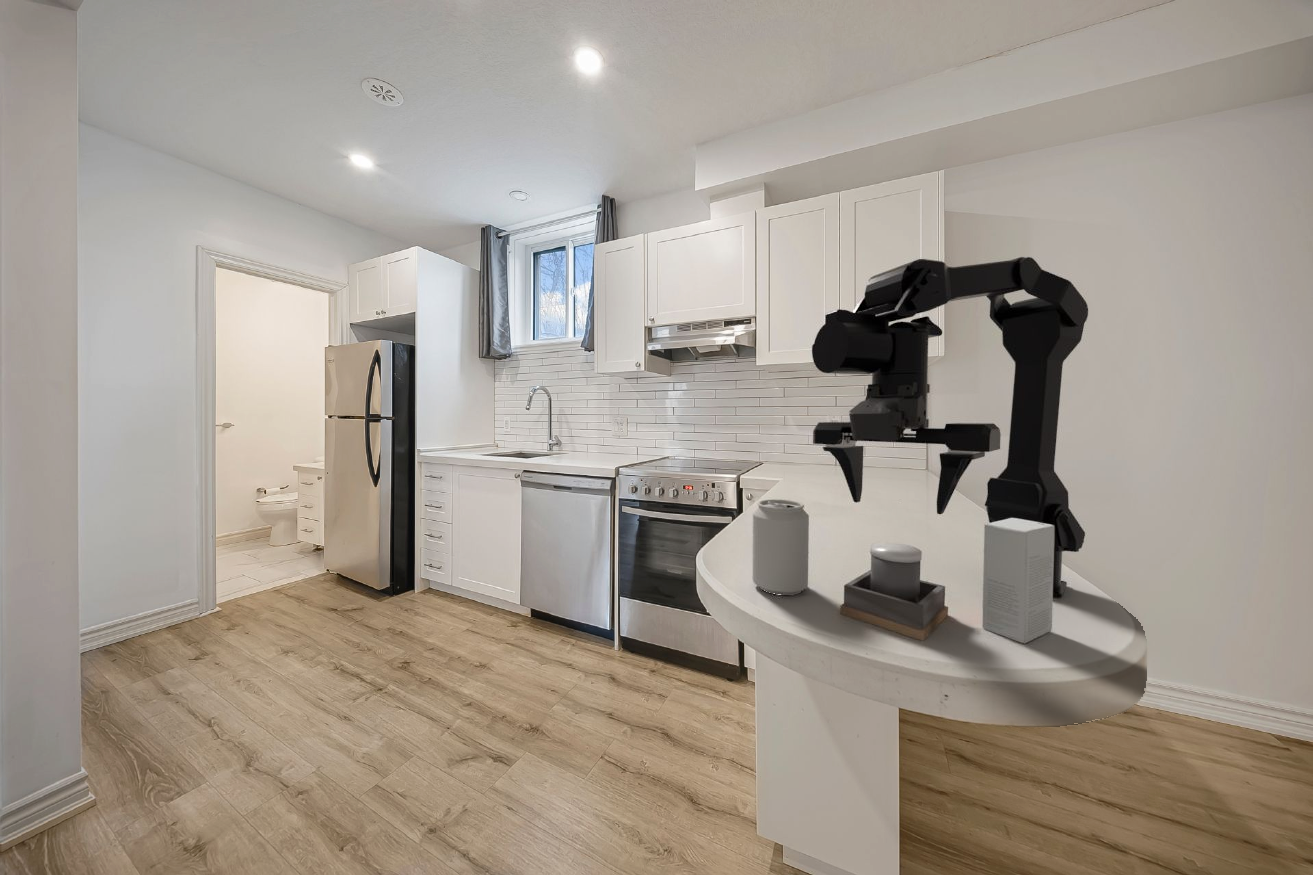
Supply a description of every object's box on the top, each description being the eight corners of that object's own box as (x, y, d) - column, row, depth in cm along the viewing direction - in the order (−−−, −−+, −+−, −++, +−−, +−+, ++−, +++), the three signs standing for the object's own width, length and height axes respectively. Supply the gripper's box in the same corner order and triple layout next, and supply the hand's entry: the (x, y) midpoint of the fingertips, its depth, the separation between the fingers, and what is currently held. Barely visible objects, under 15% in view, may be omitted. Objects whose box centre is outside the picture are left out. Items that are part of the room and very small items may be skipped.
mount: (870, 593, 60) (871, 567, 60) (947, 614, 54) (948, 586, 53) (840, 613, 54) (840, 585, 54) (923, 641, 47) (924, 608, 47)
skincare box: (1008, 616, 53) (1011, 516, 52) (1052, 632, 49) (1057, 524, 49) (979, 628, 50) (982, 522, 50) (1024, 645, 46) (1028, 531, 46)
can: (811, 600, 58) (812, 508, 57) (752, 596, 59) (753, 506, 59) (804, 579, 65) (805, 498, 65) (752, 576, 67) (752, 496, 66)
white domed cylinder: (879, 593, 58) (880, 539, 57) (926, 606, 54) (928, 548, 53) (861, 605, 54) (863, 548, 54) (911, 620, 50) (912, 558, 50)
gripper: (791, 377, 54) (789, 505, 55) (978, 363, 40) (972, 535, 41) (834, 381, 61) (832, 494, 62) (1003, 371, 48) (998, 516, 48)
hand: (896, 507), depth 53 cm, fingers open, 9 cm apart
